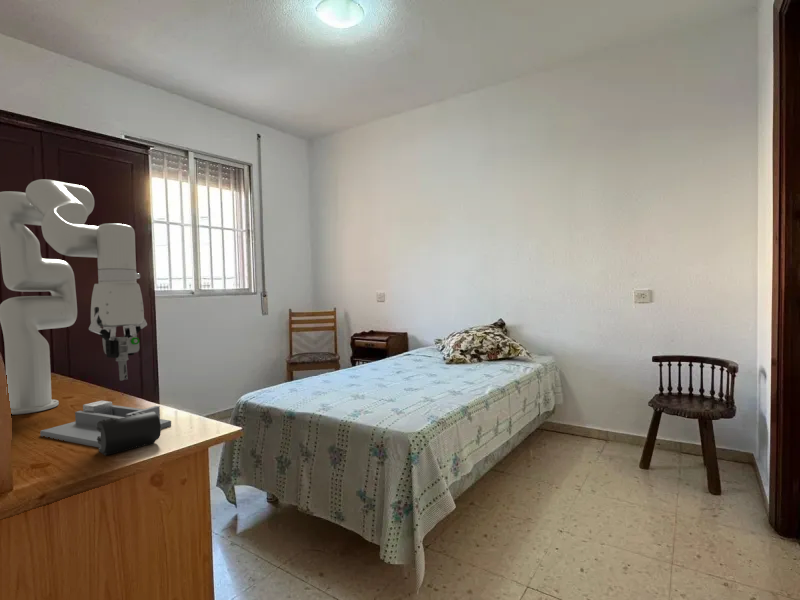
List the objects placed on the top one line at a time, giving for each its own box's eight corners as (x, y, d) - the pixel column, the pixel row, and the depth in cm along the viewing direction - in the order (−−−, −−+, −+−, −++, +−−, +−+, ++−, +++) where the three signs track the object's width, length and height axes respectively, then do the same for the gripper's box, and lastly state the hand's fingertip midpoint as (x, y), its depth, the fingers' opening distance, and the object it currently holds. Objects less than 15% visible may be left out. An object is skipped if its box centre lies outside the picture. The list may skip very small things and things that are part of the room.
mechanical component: (132, 381, 100) (129, 337, 99) (102, 381, 103) (99, 338, 103) (144, 378, 102) (141, 335, 102) (114, 378, 106) (111, 337, 106)
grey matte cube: (83, 421, 106) (82, 404, 106) (102, 416, 110) (101, 400, 110) (94, 423, 104) (93, 406, 104) (112, 417, 108) (112, 401, 108)
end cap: (106, 460, 85) (105, 425, 84) (95, 452, 89) (94, 418, 89) (161, 445, 92) (160, 413, 92) (148, 438, 97) (147, 408, 97)
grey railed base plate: (40, 436, 100) (39, 413, 99) (111, 416, 114) (110, 396, 114) (103, 448, 91) (102, 423, 91) (171, 425, 106) (170, 404, 105)
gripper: (139, 278, 111) (142, 350, 112) (69, 277, 96) (73, 361, 97) (160, 277, 108) (163, 351, 109) (91, 276, 93) (94, 362, 94)
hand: (120, 355), depth 103 cm, fingers closed on mechanical component, 3 cm apart
